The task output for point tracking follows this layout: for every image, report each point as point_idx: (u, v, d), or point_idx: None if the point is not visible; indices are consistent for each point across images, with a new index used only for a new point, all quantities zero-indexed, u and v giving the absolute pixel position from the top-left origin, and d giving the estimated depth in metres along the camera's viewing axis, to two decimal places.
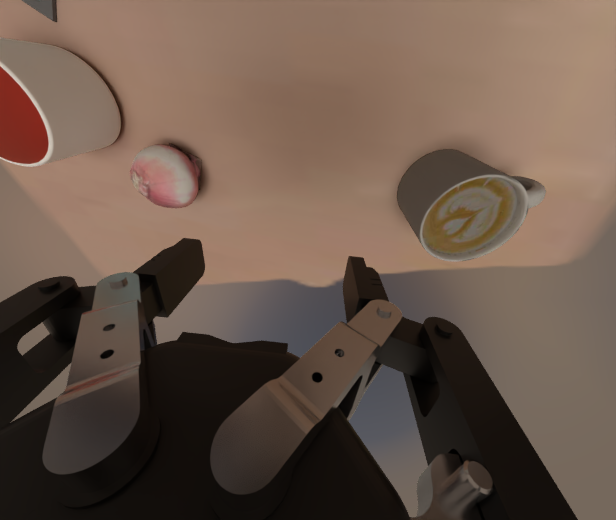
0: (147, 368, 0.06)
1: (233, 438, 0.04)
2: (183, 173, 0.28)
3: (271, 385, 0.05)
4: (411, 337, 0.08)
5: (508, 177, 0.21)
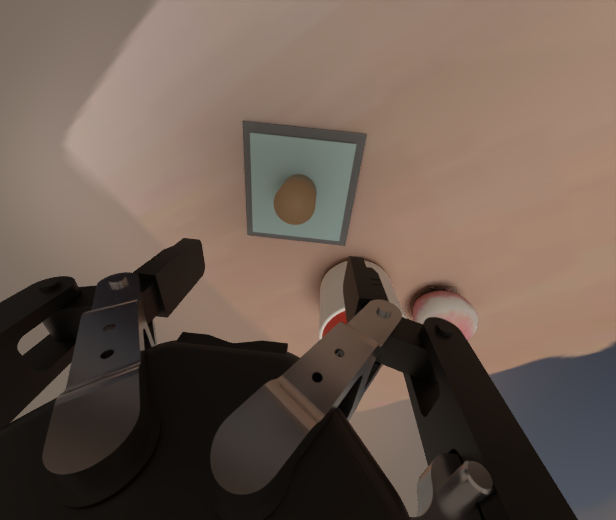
0: (147, 368, 0.06)
1: (233, 438, 0.04)
2: (474, 312, 0.29)
3: (271, 385, 0.05)
4: (411, 337, 0.08)
5: None
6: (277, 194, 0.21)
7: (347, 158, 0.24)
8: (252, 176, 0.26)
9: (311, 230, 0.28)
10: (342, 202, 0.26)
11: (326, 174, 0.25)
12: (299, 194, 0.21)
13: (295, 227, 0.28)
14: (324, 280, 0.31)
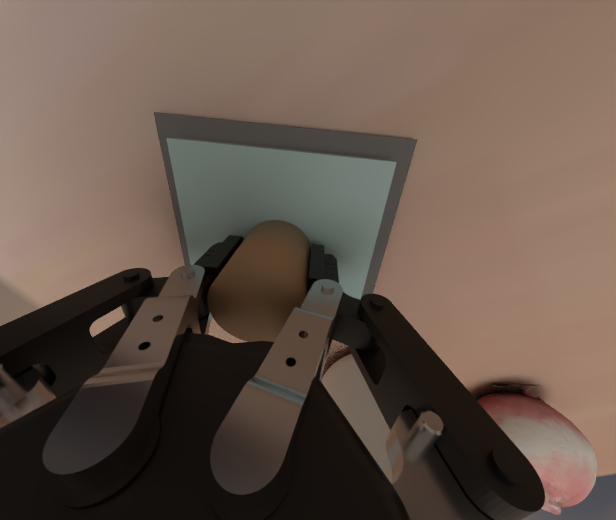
0: (174, 369, 0.06)
1: (233, 438, 0.04)
2: (593, 454, 0.16)
3: (271, 385, 0.05)
4: (349, 311, 0.09)
5: None
6: (214, 288, 0.09)
7: (375, 190, 0.12)
8: (185, 223, 0.13)
9: None
10: (361, 269, 0.14)
11: (331, 220, 0.12)
12: (268, 289, 0.09)
13: None
14: (326, 384, 0.18)
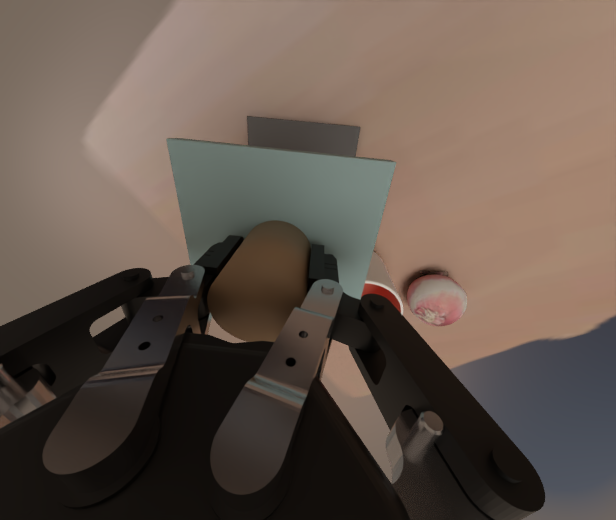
0: (174, 369, 0.06)
1: (233, 438, 0.04)
2: (463, 293, 0.31)
3: (271, 385, 0.05)
4: (349, 311, 0.09)
5: None
6: (213, 288, 0.09)
7: (375, 191, 0.12)
8: (185, 223, 0.13)
9: None
10: (361, 269, 0.14)
11: (330, 221, 0.12)
12: (267, 289, 0.09)
13: None
14: None
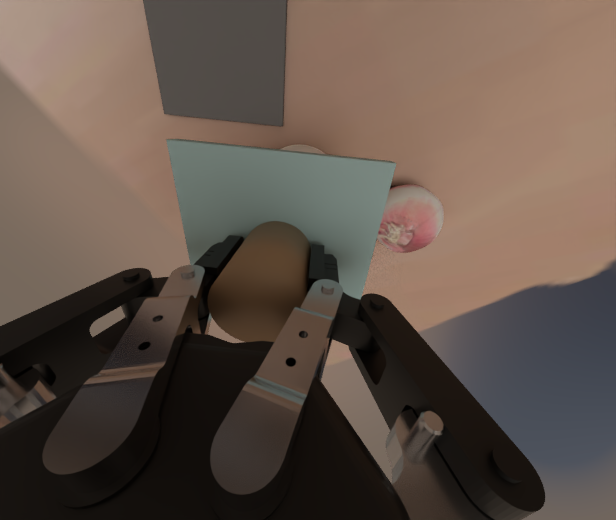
0: (174, 369, 0.06)
1: (233, 438, 0.04)
2: (437, 202, 0.24)
3: (271, 385, 0.05)
4: (350, 311, 0.09)
5: None
6: (214, 290, 0.09)
7: (375, 192, 0.12)
8: (185, 224, 0.13)
9: None
10: (361, 270, 0.14)
11: (331, 221, 0.12)
12: (268, 290, 0.09)
13: None
14: None
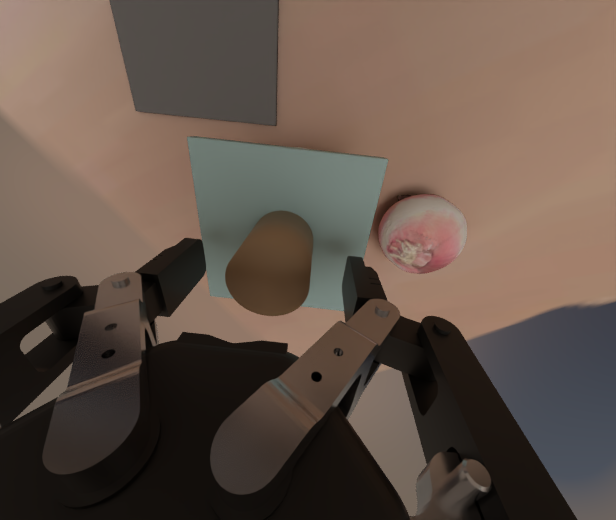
0: (148, 368, 0.06)
1: (233, 438, 0.04)
2: (461, 215, 0.20)
3: (271, 385, 0.05)
4: (409, 336, 0.08)
5: None
6: (231, 265, 0.10)
7: (370, 184, 0.13)
8: (200, 213, 0.15)
9: None
10: (357, 256, 0.15)
11: (331, 211, 0.14)
12: (277, 265, 0.10)
13: None
14: None
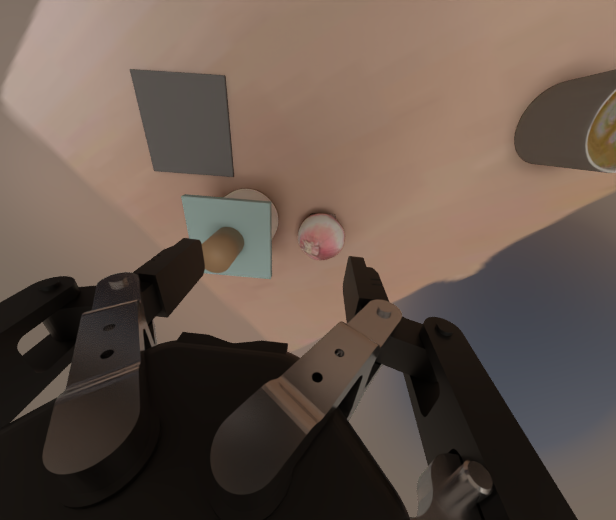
0: (147, 368, 0.06)
1: (233, 438, 0.04)
2: (336, 225, 0.35)
3: (271, 385, 0.05)
4: (411, 337, 0.08)
5: None
6: None
7: (264, 214, 0.29)
8: (188, 229, 0.30)
9: (245, 270, 0.33)
10: (267, 248, 0.31)
11: (249, 226, 0.29)
12: (216, 249, 0.26)
13: (231, 268, 0.33)
14: None
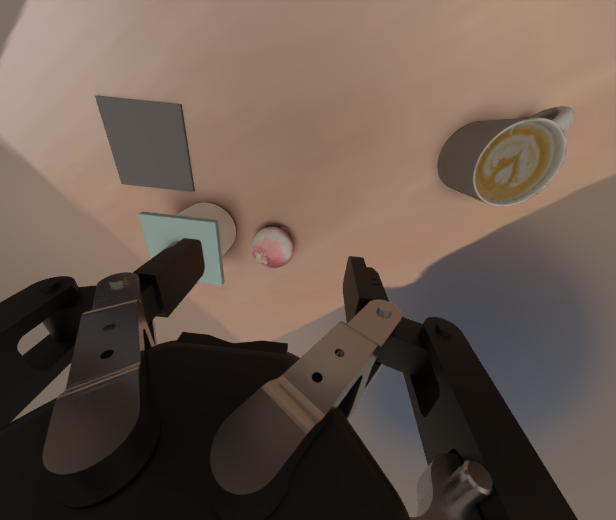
0: (147, 368, 0.06)
1: (233, 438, 0.04)
2: (283, 238, 0.40)
3: (271, 385, 0.05)
4: (411, 337, 0.08)
5: (527, 119, 0.25)
6: None
7: (211, 231, 0.33)
8: (146, 241, 0.34)
9: None
10: (216, 259, 0.35)
11: None
12: None
13: None
14: None
